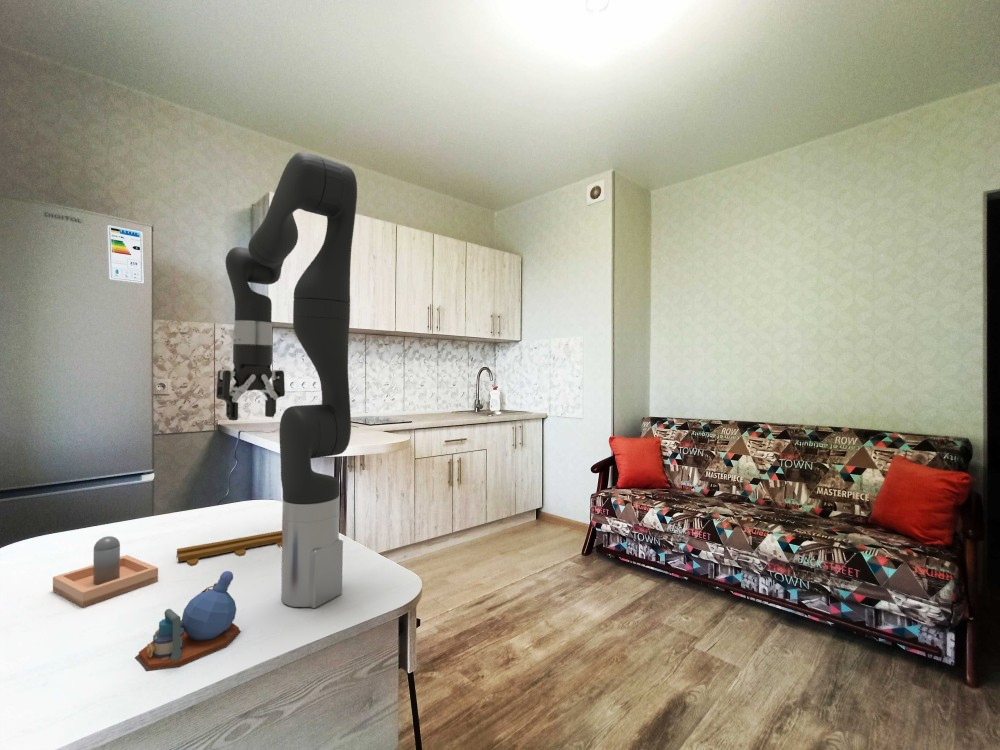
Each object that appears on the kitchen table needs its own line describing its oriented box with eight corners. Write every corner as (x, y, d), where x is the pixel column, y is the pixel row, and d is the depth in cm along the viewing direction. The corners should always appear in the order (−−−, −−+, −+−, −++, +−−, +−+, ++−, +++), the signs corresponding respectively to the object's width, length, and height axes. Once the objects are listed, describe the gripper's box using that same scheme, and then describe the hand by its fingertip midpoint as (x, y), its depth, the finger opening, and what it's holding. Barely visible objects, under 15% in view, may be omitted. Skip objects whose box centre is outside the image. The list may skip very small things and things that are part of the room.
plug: (123, 578, 85) (124, 535, 85) (99, 586, 82) (99, 542, 82) (113, 574, 87) (113, 531, 87) (89, 581, 84) (89, 538, 84)
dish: (157, 581, 87) (158, 567, 87) (83, 607, 77) (83, 592, 77) (126, 567, 92) (126, 555, 92) (52, 591, 82) (52, 576, 82)
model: (221, 617, 76) (221, 559, 76) (249, 638, 70) (250, 576, 70) (129, 652, 66) (129, 586, 66) (153, 680, 61) (153, 608, 60)
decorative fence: (176, 554, 100) (178, 571, 92) (176, 544, 100) (178, 561, 92) (301, 531, 115) (313, 544, 107) (301, 523, 115) (313, 536, 107)
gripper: (232, 341, 94) (231, 423, 95) (293, 344, 107) (292, 416, 107) (209, 341, 98) (208, 420, 98) (271, 344, 110) (270, 414, 111)
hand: (252, 418), depth 103 cm, fingers open, 8 cm apart
